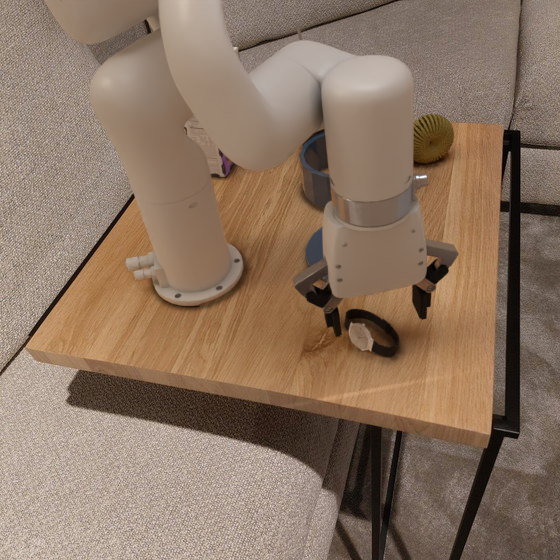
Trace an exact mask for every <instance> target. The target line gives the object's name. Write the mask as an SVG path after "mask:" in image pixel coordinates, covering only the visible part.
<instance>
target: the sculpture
mask: <svg viewBox="0 0 560 560" xmlns="http://www.w3.org/2000/svg"><path fill="white" fill-rule="evenodd" d="M454 139H455V129H454V126H453V125H452V123H451V121H450V120H449V119H448V118H446V117H445V116H443V115H441V114H438V113H437V114H435V113H430V114H425V115H422V116H420V117H418V118H417V119H414V142H413V162H414V163H418V164H431V163H434V162H436V161H439V160H440V159H442V158H443V157H444V156H445V155H446V154H448V152H449V151H450V149H451V147H452V146H453V143H454Z"/></svg>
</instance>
